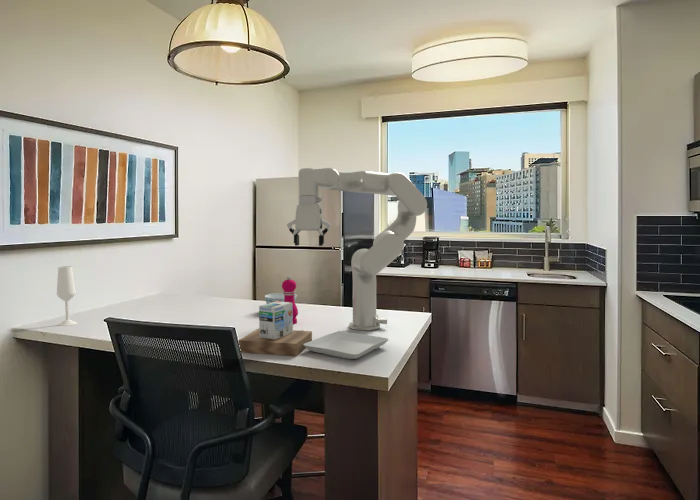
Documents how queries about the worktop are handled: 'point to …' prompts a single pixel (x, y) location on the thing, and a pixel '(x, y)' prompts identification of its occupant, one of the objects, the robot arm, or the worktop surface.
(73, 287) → the champagne flute
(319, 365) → the worktop surface
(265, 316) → the light bulb box
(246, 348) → the riser block
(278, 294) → the chinaware
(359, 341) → the salad plate
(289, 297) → the pepper mill
